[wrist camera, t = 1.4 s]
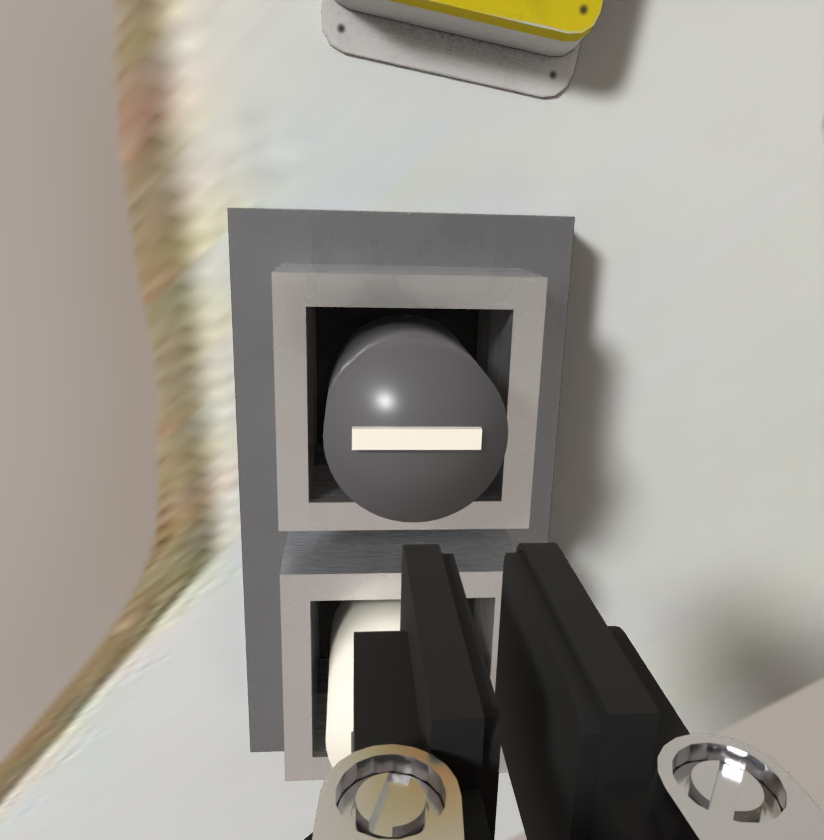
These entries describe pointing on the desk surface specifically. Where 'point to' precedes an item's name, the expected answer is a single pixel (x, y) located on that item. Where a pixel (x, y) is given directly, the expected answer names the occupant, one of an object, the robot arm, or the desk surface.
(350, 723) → the knob ivory
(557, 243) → the mount
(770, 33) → the desk surface
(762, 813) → the robot arm
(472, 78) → the emergency button
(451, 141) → the desk surface
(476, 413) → the knob black
